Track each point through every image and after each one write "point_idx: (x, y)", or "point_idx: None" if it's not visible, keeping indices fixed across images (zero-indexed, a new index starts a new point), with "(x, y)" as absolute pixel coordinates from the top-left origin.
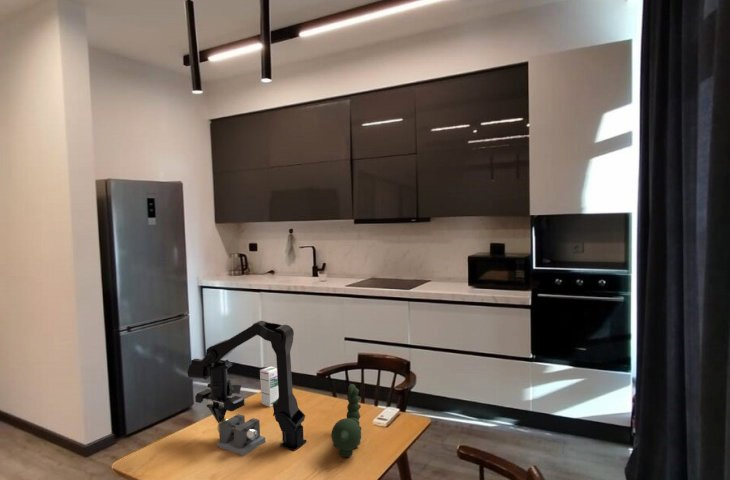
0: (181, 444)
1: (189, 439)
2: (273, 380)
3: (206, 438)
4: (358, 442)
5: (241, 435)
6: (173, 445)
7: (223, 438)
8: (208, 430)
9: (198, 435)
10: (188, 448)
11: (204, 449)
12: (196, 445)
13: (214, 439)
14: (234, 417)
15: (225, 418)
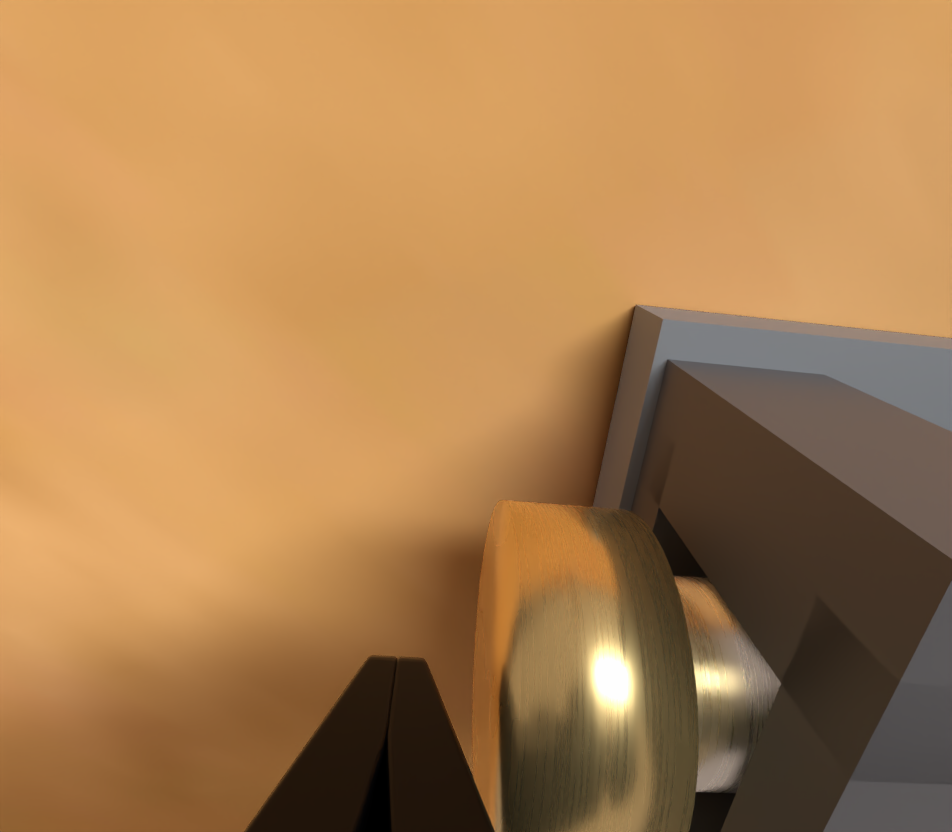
0: (84, 780)
1: (44, 683)
2: None
3: (233, 591)
4: None
5: None
6: (23, 819)
7: None
8: (12, 405)
9: (39, 574)
10: (249, 800)
11: None
12: (275, 738)
13: (365, 572)
14: (928, 800)
15: (561, 805)
